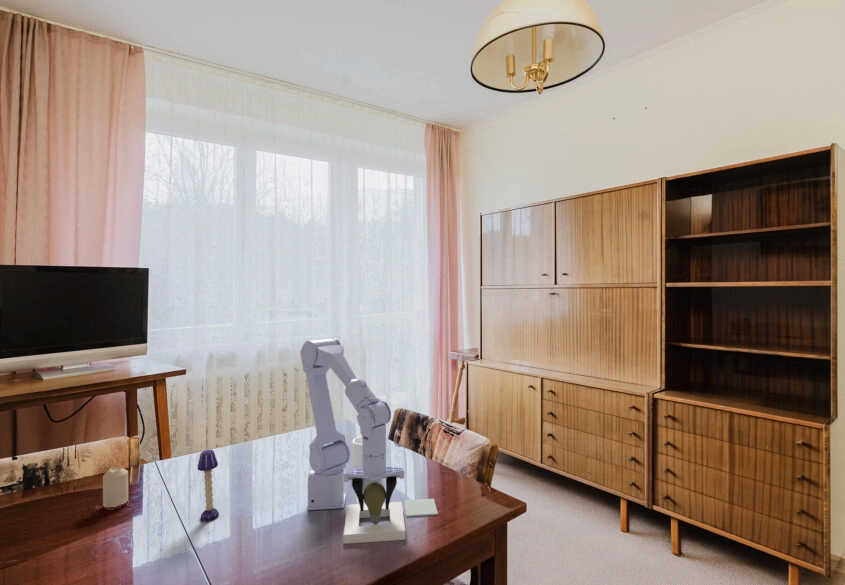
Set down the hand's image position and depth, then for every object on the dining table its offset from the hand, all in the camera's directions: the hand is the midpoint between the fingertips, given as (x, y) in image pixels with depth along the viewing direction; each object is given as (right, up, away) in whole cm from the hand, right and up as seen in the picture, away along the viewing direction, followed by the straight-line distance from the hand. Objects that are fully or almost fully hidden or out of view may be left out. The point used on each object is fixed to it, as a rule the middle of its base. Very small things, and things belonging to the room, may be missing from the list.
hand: (374, 508), depth 106 cm
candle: (-71, -5, +10) cm, 71 cm away
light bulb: (0, -4, 0) cm, 4 cm away
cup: (-7, -4, +33) cm, 34 cm away
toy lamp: (-43, -5, +4) cm, 43 cm away
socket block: (0, -4, 0) cm, 4 cm away
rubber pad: (+11, -4, +8) cm, 14 cm away
